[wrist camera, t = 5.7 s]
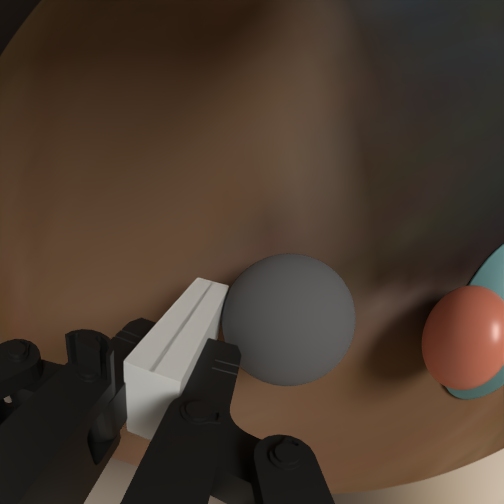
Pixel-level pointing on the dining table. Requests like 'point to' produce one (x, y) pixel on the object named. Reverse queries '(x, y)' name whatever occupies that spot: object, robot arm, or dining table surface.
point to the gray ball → (289, 319)
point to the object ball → (465, 338)
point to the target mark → (500, 281)
